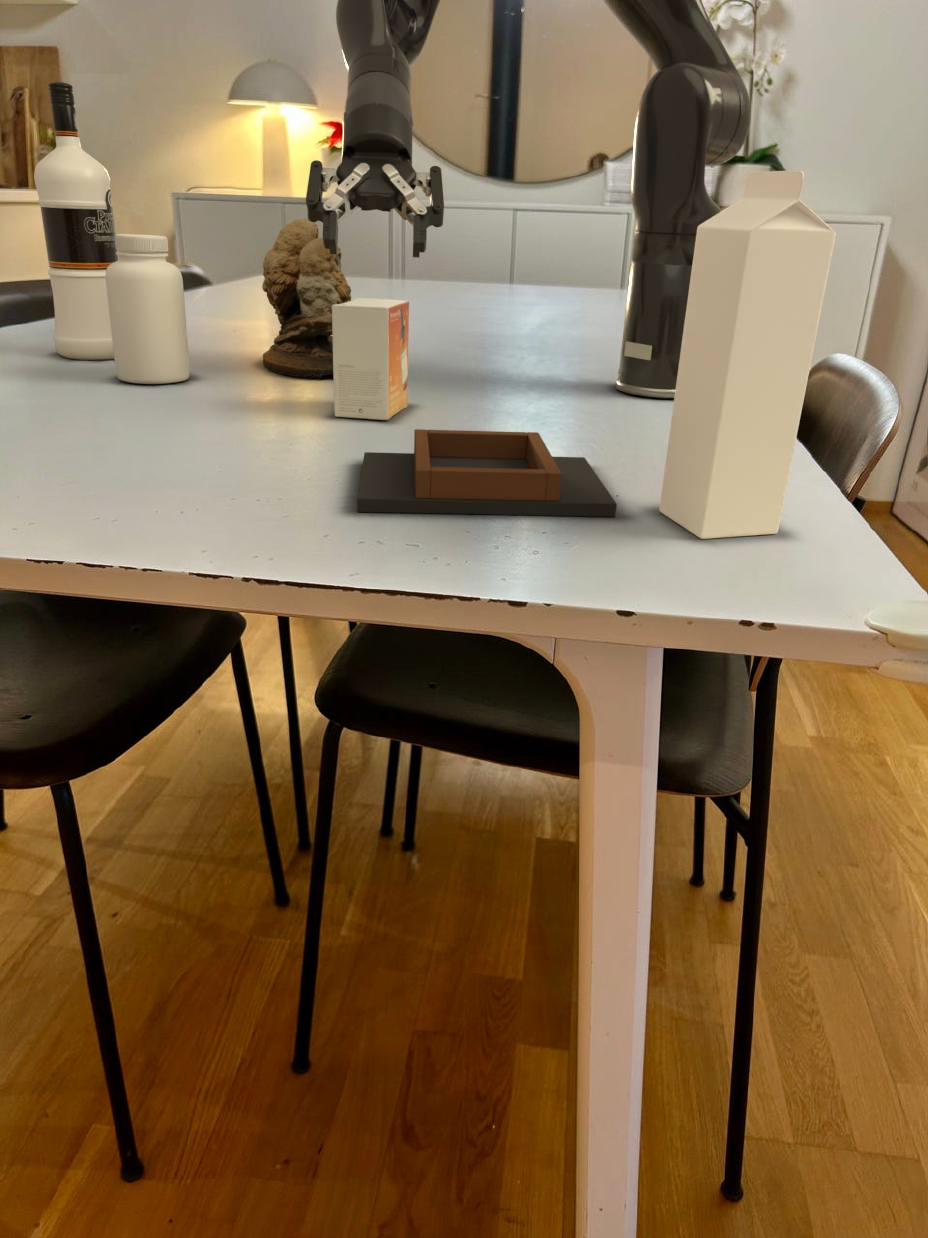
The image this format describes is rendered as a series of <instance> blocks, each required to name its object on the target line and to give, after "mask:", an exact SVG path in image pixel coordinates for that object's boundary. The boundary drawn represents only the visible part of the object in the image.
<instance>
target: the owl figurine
mask: <svg viewBox="0 0 928 1238" xmlns="http://www.w3.org/2000/svg"><path fill="white" fill-rule="evenodd" d="M319 234H320V232H319V228H318V224H317V223H316V222H311V221H309V220H308V218H300V219H294V220H292V221H291V222H289V223H286V225H284V226H283V227H282V228H281V229H280V230H279V231H278V234H277V236H276V239H275V241H274V243H273V245H272V248H270V249H268V250H267V252H266V253H265V256H264V258H263V262H262V267H263V271H262V276H263V277H264V280H263V282H262V285H261V286H262V287H261V288H262V291H263V292H264V293H266V298H267V300H268V302H269V305H271V306H272V307H273V309H274V315H276V316H277V320H278V323H279V325H280V329H279V331H278V335H277V336H276V337H274V339H273V340H274V341H273V344H272V345H270V347H269V349H268V350H267V351H265V352H264V353H263V354H262V366H264V368H265V369H268V370H269V371H272V372H273V373H276V374H281V375H286V376H291V377H299V378H300V377H301V378H308V377H310V376H314V378H317V377H318V378H321V377H322V376H328V375H329V376H330V375H331V376H332V375H333V332H332V305H335V304H342V303H346V302H349V301H352V294H351V292H352V289H351V286H350V285H349V283H348V280H347V279H346V276H345V274H344V273H343V272H342V255H343V254H342V252H341V250H342V249H341V247H339V245H337V254H330V249H325V247H324V244H323V237H320V235H319Z"/></svg>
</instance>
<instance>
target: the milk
mask: <svg viewBox="0 0 928 1238" xmlns="http://www.w3.org/2000/svg"><path fill="white" fill-rule="evenodd" d="M804 173H805V172H804V171H803V170H766V171H748V172H747V173H746V175H745V178H744V184H743V189H742V195H741V199H739V200H737V201H736V202H734V203H732V204H731V205H729V206H728V207H725V208H724V209H723V210H721V212H720V213H718V214H716V215H715V216H713V217H712V218H710V219H708V220H707V221H705V222H704V223H702V224H700V225H699V226H698V228H697V234H696V242H695V249H694V257H693V264H692V271H691V279H690V286H689V294H688V301H687V308H686V316H685V323H684V331H683V338H682V345H681V353H680V360H679V368H678V375H677V382H676V390H675V397H674V398H673V406H672V413H671V419H670V421H671V422H670V427H669V436H668V443H667V450H666V458H665V465H664V470H663V471H664V472H663V479H662V487H661V493H660V494H661V495H660V501H659V509H658V511H659V512H660V513H661V514H663V515H664V516H666V517H667V518H669V519H670V520H672V521H674V522H675V523H676V524H677V525H678V526H681V527H682V528H684V529H685V530H687V531H688V532H690V533H691V534H693V535H694V536H696V537H697V538H699V539H701V540H704V539H721V538H733V537H747V536H749V537H750V536H759V535H760V536H761V535H776V534H778V532H779V528H780V525H781V524H780V523H781V518H782V512H783V509H784V503H785V498H786V492H787V487H788V482H789V477H790V472H791V467H792V462H793V458H794V451H795V446H796V441H797V436H798V431H799V428H800V427H799V426H800V422H801V421H800V420H801V416H802V410H803V405H804V400H805V395H806V391H807V385H808V380H809V374H810V369H811V364H812V360H813V355H814V350H815V344H816V340H817V339H816V338H817V334H818V329H819V323H820V319H821V314H822V308H823V303H824V299H825V294H826V293H825V292H826V288H827V282H828V279H829V278H828V277H829V273H830V267H831V264H832V263H831V262H832V256H833V253H834V252H833V251H834V247H835V242H836V237H837V233H836V231H835V230H833V228H831V226H829V224H827V223H826V222H825V221H824V220H823V219H822V218H820V217H819V216H818V214H817V213H815V211H813V210H812V209H811V208H810V207H809V206H808V205H807V204H806V203H805V202H804V201H802V199H801V197H802V192H803V188H804V187H803V186H804V180H805V174H804Z"/></svg>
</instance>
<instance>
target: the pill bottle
mask: <svg viewBox="0 0 928 1238" xmlns="http://www.w3.org/2000/svg"><path fill="white" fill-rule="evenodd" d="M115 244H116V249H117V252H116V255H118V261H116V262H114V263H112V264H110V265H109V266H108V268H107V270H106V275H105V277H106V287H107V296H108V305H109V314H110V323H111V332H112V341H113V350H114V359H113V360H114V368H115V373H116V377H117V378H118V379H119V380H120V381H122V382H126V383H130V384H139V385H140V384H142V385H162V384H163V385H165V384H175V383H179V382H180V383H181V382H184V381H187V380H189V378H190V375H191V373H190V371H191V370H190V367H191V365H190V355H189V342H188V340H189V339H188V329H187V315H186V314H187V313H186V304H185V292H184V291H185V289H184V279H183V275H182V273H181V271H180V269H179V268H178V267H177V266H176V265H175V264H172V263H171V262H168V261H167V259H166V258H167V257H169V253H167V252H169V239H168V238H167V236H166V235H165V236H164V235H156V234H155V235H154V234H136V233H117V234H116V233H115Z"/></svg>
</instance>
